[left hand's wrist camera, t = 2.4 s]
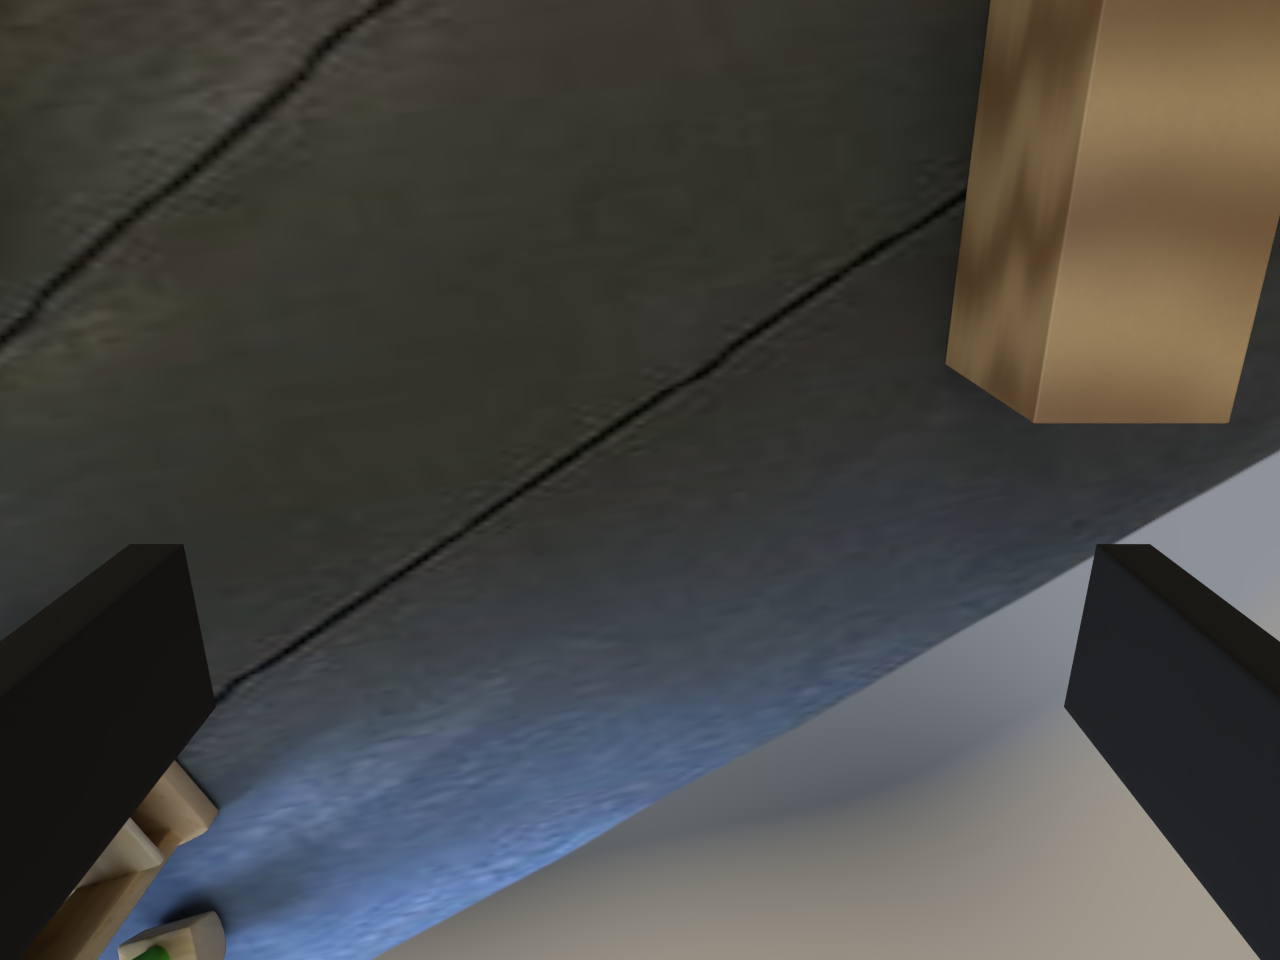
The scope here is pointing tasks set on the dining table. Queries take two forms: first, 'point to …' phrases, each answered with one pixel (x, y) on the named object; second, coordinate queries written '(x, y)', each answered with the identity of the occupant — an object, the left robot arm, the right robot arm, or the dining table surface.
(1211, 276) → the box
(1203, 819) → the left robot arm
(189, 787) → the pounding bench toy
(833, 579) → the dining table surface
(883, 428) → the dining table surface
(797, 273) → the dining table surface
